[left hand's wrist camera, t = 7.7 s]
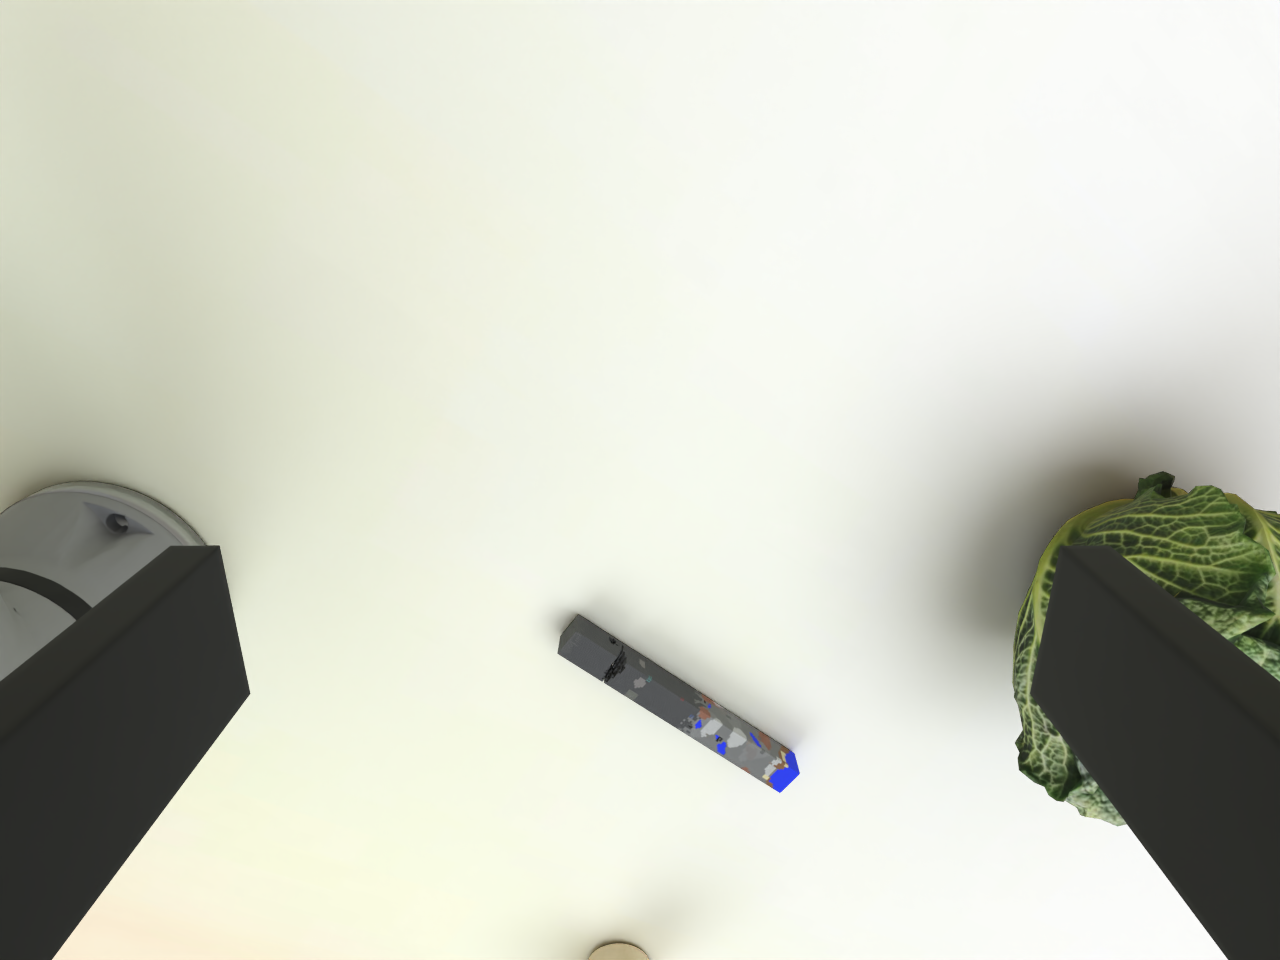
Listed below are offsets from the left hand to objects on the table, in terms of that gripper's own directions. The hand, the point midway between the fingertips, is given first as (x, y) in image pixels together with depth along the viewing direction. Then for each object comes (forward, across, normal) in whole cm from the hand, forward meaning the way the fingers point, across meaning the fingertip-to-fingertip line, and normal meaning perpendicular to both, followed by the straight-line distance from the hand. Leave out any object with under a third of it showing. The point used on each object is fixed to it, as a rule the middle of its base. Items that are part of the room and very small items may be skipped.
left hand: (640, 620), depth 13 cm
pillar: (+38, -3, +29) cm, 47 cm away
